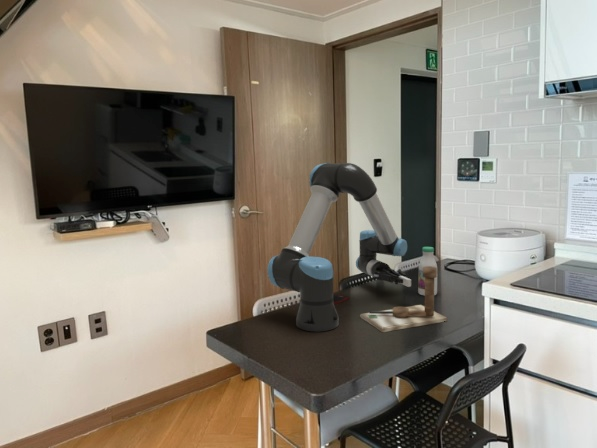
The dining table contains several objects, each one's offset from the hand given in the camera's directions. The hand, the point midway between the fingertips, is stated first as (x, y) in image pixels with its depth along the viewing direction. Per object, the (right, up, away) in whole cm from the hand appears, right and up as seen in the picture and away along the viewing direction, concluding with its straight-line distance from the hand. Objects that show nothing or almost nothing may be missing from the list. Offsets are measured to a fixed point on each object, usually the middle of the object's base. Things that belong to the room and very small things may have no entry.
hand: (409, 283), depth 176 cm
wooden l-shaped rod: (-5, -10, -11) cm, 16 cm away
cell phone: (-29, -10, +13) cm, 33 cm away
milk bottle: (+12, -7, +19) cm, 24 cm away
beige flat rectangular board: (-5, -12, -10) cm, 16 cm away
